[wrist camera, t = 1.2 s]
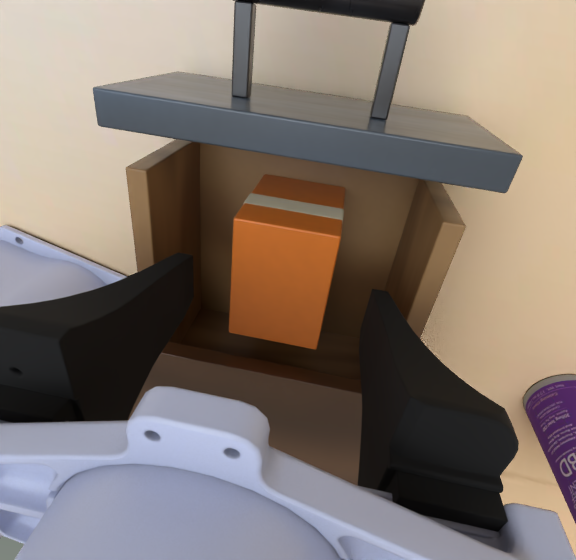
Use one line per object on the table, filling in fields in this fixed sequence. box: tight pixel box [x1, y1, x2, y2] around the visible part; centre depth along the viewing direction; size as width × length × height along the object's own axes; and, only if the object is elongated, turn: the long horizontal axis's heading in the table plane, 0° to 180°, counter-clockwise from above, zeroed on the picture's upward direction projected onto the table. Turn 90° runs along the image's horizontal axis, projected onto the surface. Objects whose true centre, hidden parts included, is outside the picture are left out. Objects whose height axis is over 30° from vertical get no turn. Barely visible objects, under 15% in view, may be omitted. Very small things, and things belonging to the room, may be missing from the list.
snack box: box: [229, 174, 345, 349], centre depth 18 cm, size 6×4×6 cm
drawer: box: [93, 0, 523, 380], centre depth 17 cm, size 18×13×7 cm
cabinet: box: [128, 339, 421, 486], centre depth 24 cm, size 15×15×9 cm
